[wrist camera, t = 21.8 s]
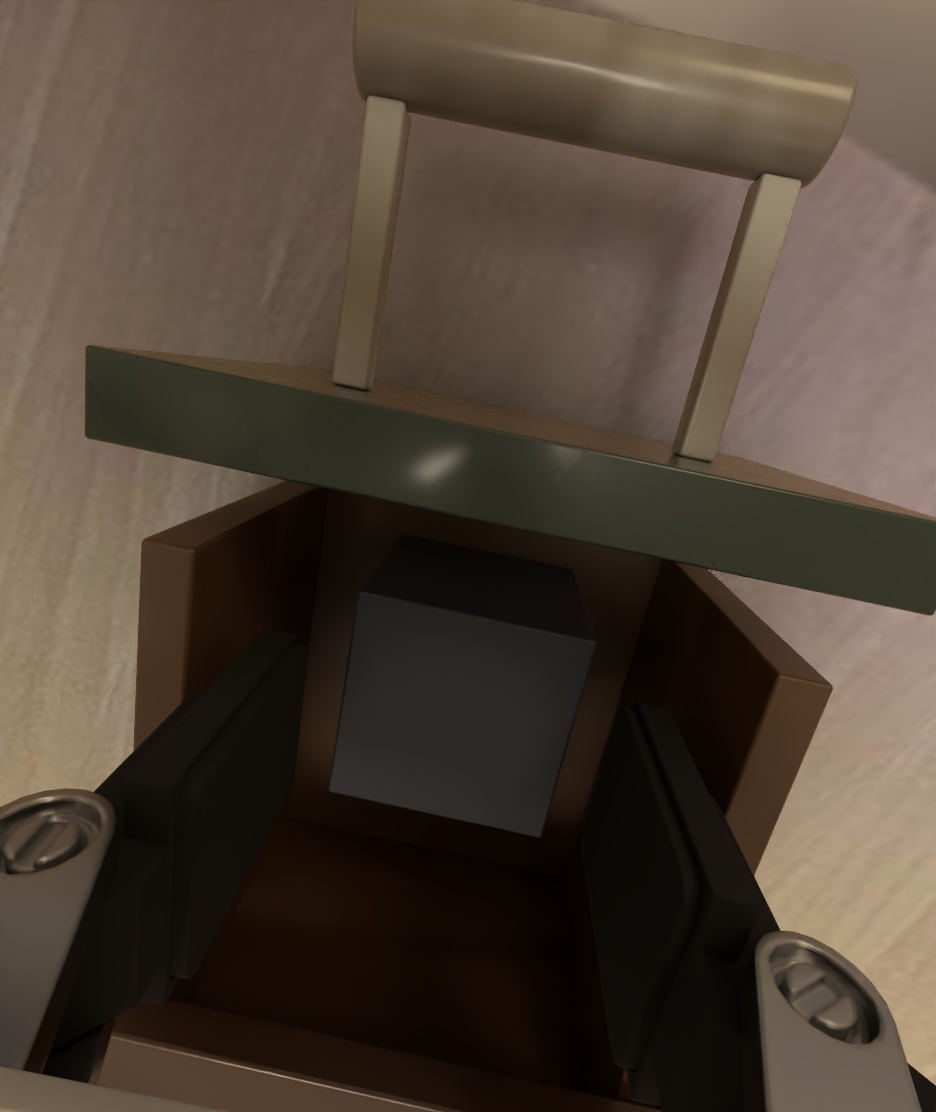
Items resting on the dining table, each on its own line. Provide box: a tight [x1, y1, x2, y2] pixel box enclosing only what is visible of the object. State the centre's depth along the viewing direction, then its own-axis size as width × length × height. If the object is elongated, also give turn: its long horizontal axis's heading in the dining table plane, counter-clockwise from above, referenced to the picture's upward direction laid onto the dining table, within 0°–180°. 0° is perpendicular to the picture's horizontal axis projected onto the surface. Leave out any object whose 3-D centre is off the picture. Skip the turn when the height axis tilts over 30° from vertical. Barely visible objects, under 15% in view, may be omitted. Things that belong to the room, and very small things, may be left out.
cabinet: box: [97, 998, 662, 1112], centre depth 16 cm, size 15×13×10 cm
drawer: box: [85, 0, 936, 1108], centre depth 12 cm, size 19×11×8 cm, turn 169°
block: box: [328, 534, 597, 838], centre depth 13 cm, size 4×4×4 cm
